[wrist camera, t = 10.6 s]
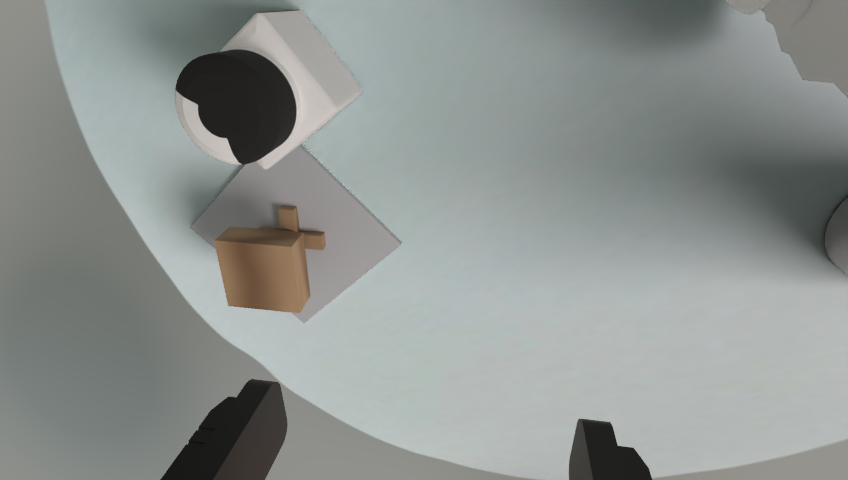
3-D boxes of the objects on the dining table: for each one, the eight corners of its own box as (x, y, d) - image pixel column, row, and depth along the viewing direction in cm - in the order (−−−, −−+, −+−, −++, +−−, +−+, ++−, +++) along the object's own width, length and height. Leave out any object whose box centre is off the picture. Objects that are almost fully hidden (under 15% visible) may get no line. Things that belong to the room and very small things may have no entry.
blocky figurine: (301, 7, 33) (211, 11, 22) (365, 90, 35) (310, 130, 24) (238, 70, 36) (131, 100, 25) (301, 144, 38) (227, 200, 27)
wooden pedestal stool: (322, 208, 40) (291, 247, 34) (327, 267, 43) (299, 313, 36) (256, 203, 40) (214, 240, 34) (266, 262, 43) (228, 305, 37)
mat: (401, 242, 41) (400, 244, 40) (305, 320, 46) (304, 323, 46) (280, 125, 37) (278, 126, 37) (192, 225, 43) (190, 227, 42)
